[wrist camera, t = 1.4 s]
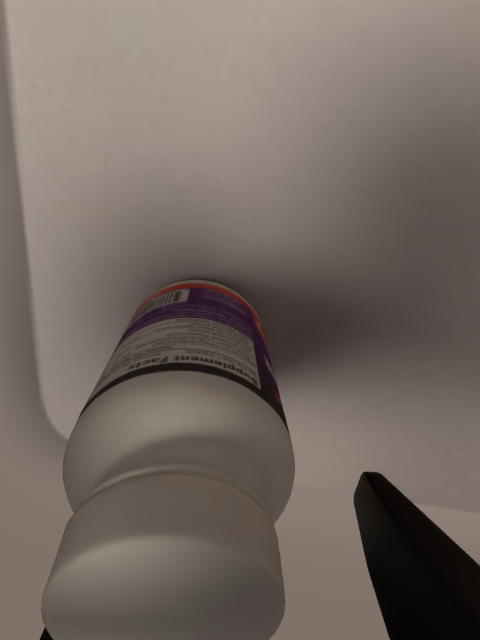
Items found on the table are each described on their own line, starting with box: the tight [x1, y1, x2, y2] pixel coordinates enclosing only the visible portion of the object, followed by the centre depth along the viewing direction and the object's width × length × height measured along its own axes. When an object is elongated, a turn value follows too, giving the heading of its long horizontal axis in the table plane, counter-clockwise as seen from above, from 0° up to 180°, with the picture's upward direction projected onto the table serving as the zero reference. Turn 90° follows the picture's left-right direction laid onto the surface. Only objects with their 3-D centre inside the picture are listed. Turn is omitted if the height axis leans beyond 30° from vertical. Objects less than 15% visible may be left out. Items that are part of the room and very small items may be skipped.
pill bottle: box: [41, 280, 295, 640], centre depth 10 cm, size 5×5×10 cm
